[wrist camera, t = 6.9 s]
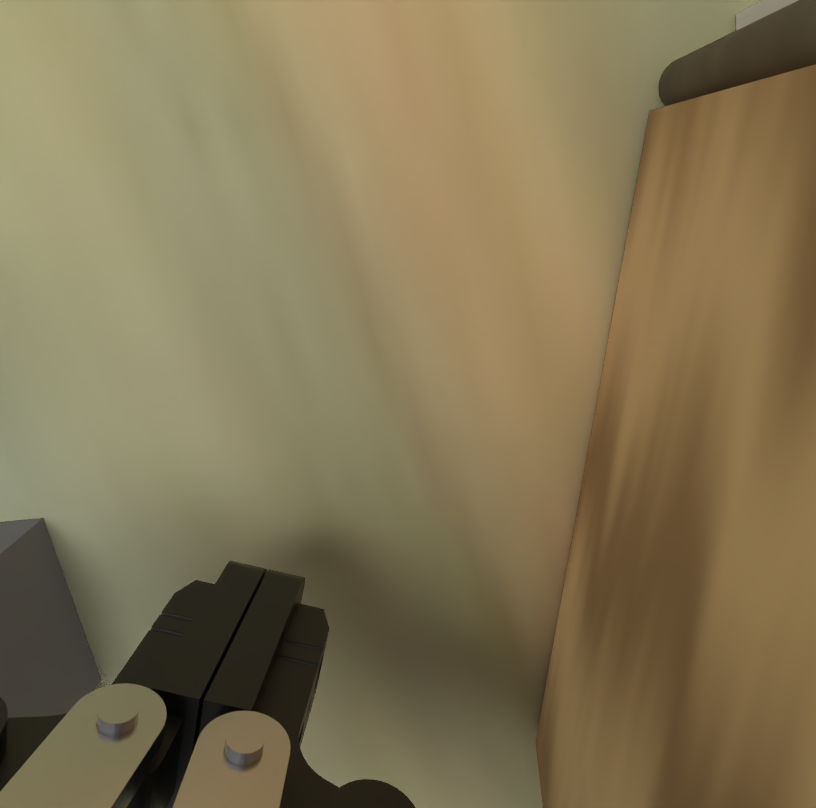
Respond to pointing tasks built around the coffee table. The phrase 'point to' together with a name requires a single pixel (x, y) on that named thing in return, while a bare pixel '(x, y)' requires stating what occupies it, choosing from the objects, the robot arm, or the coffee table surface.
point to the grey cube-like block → (39, 627)
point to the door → (702, 459)
